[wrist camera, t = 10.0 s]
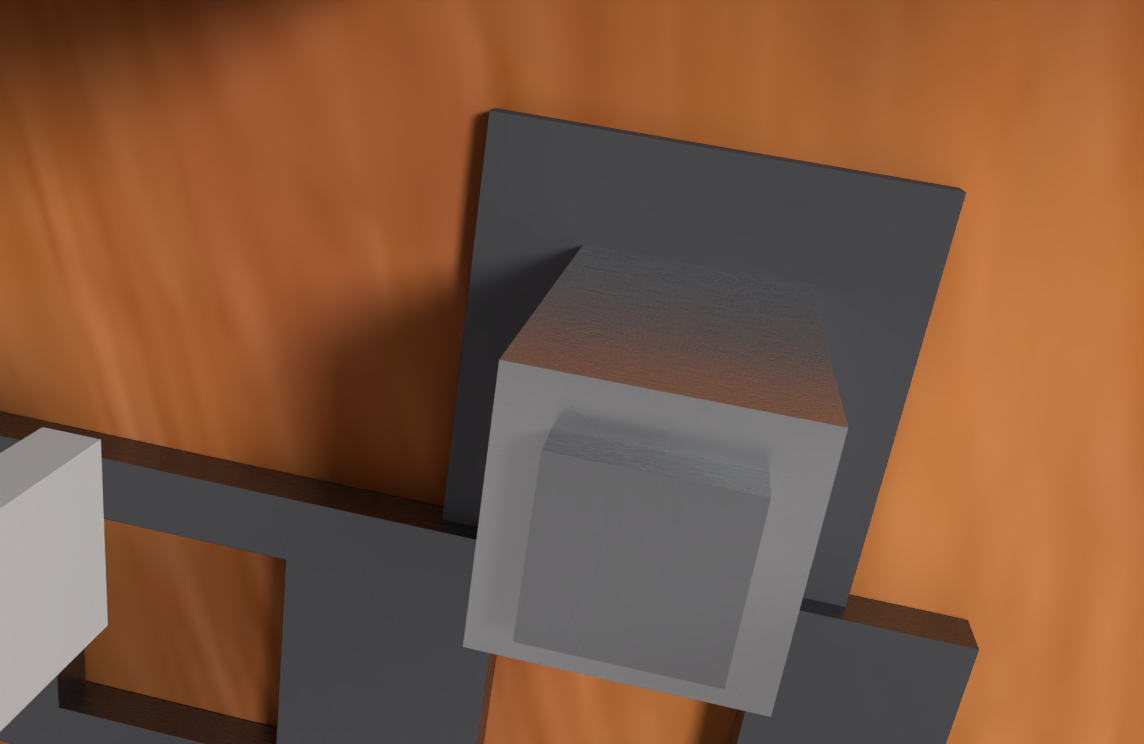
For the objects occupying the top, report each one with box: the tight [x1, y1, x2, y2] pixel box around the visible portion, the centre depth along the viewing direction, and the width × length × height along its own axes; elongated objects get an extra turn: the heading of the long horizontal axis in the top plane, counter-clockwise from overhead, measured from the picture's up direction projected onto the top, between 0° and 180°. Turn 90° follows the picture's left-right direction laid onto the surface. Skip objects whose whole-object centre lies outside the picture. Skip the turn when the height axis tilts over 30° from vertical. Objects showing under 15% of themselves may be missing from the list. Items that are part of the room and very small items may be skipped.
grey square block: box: [463, 245, 848, 717], centre depth 18 cm, size 5×5×9 cm
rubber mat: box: [442, 108, 966, 607], centre depth 23 cm, size 10×10×1 cm
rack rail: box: [0, 412, 979, 744], centre depth 26 cm, size 10×28×2 cm, turn 81°
